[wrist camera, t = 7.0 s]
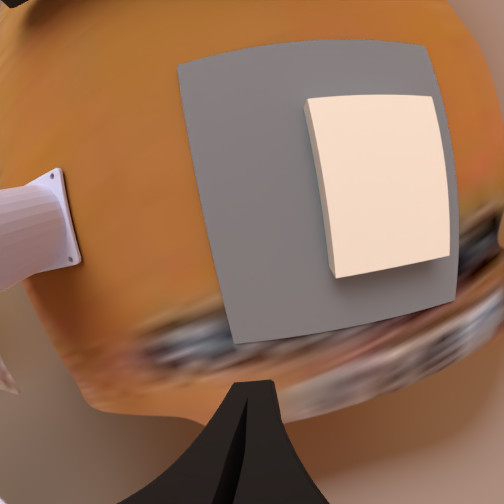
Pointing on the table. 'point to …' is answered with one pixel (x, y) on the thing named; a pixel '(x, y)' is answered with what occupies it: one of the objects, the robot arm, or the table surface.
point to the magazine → (13, 3)
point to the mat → (298, 184)
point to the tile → (379, 180)
